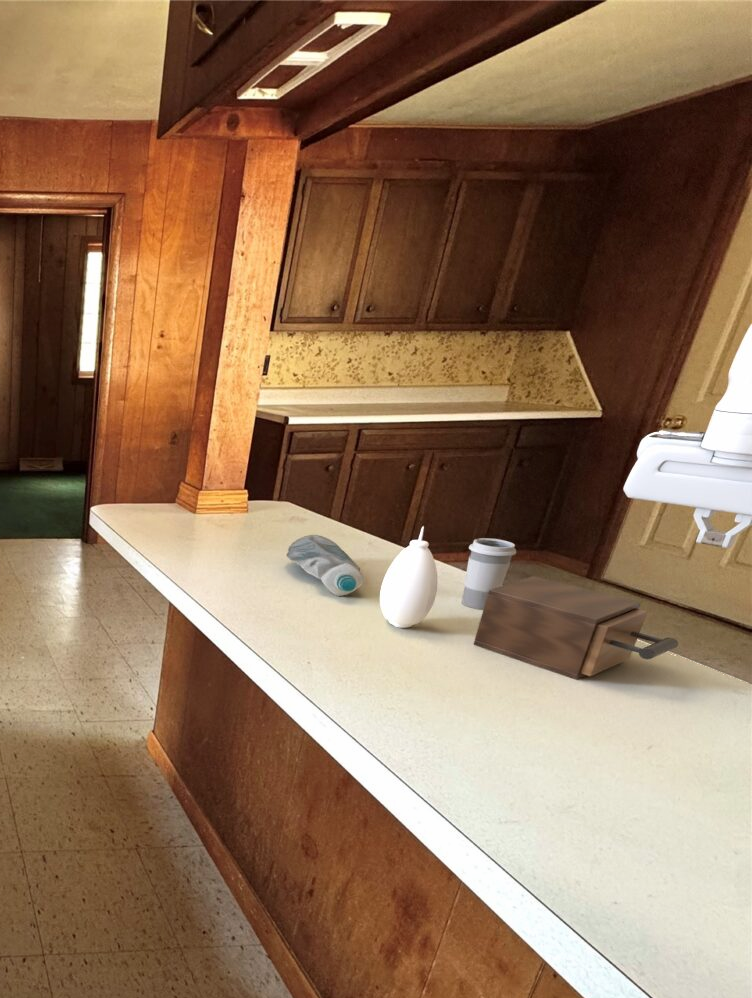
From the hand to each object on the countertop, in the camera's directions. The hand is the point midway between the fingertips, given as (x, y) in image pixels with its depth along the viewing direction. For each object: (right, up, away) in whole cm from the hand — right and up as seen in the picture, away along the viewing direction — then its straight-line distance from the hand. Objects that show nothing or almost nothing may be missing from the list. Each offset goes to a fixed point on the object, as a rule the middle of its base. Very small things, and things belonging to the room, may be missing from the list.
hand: (713, 545), depth 85 cm
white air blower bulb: (-20, -12, +30) cm, 38 cm away
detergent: (-21, -3, +51) cm, 55 cm away
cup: (-1, -8, +37) cm, 38 cm away
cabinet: (-5, -15, +19) cm, 25 cm away
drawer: (-3, -16, +15) cm, 22 cm away
